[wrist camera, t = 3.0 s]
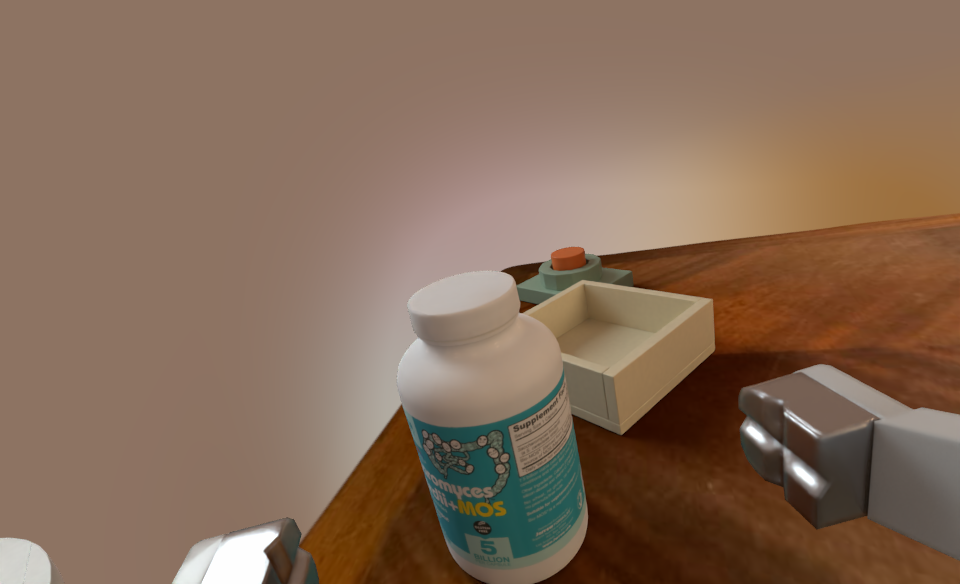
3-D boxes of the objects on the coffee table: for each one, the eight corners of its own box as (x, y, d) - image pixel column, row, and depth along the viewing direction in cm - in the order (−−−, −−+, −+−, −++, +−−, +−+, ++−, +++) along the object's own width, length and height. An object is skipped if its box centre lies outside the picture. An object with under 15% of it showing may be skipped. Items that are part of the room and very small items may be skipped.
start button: (546, 271, 52) (543, 256, 51) (567, 260, 54) (565, 245, 53) (571, 274, 49) (569, 259, 48) (593, 263, 51) (591, 247, 50)
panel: (517, 300, 54) (511, 271, 53) (563, 275, 58) (559, 248, 57) (586, 315, 46) (581, 282, 45) (633, 285, 51) (630, 255, 50)
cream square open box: (495, 380, 39) (484, 334, 37) (588, 321, 45) (582, 279, 44) (621, 436, 29) (613, 376, 28) (715, 350, 36) (713, 298, 34)
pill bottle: (421, 538, 25) (343, 309, 21) (517, 458, 29) (469, 254, 25) (520, 633, 20) (441, 347, 15) (621, 518, 24) (584, 266, 19)
